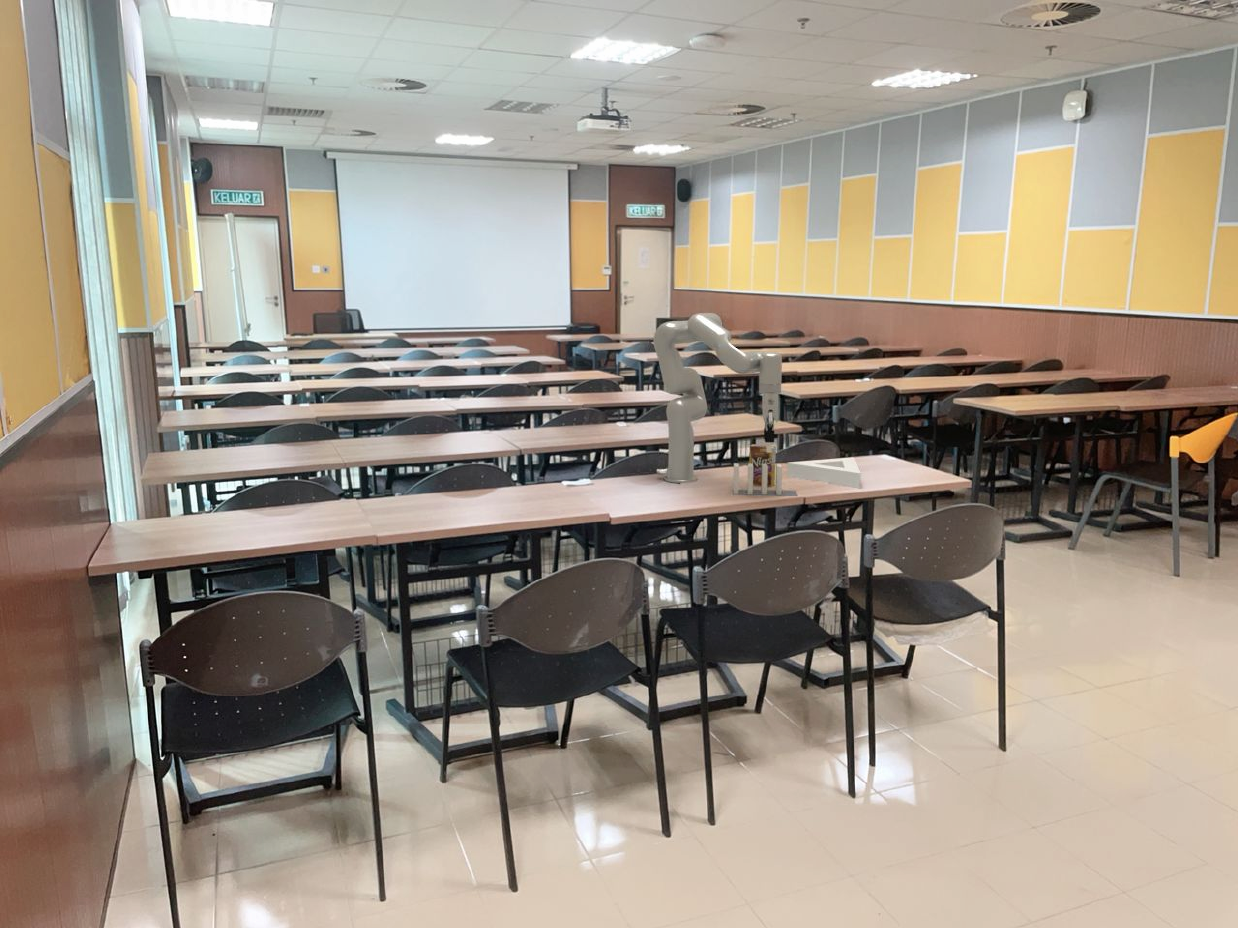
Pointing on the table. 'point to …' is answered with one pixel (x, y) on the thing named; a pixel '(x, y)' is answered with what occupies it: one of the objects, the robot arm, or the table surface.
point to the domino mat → (768, 493)
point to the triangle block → (827, 471)
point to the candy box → (759, 458)
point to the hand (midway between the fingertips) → (769, 440)
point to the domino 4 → (768, 446)
